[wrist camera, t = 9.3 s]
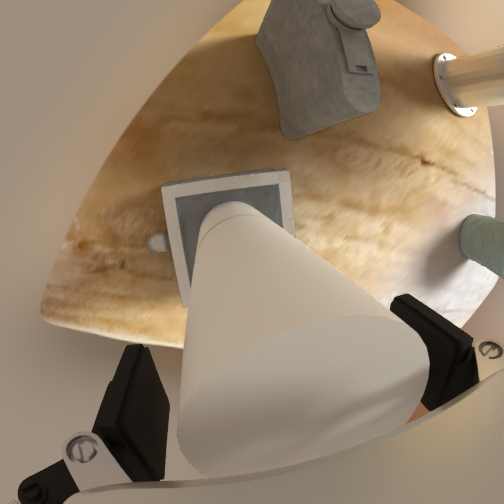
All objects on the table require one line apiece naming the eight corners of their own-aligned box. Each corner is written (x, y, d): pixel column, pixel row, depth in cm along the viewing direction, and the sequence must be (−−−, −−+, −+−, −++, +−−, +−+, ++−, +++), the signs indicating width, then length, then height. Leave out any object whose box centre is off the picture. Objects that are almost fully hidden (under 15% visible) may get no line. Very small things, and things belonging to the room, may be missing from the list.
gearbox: (274, 169, 34) (292, 167, 27) (284, 269, 37) (301, 290, 30) (144, 187, 32) (128, 190, 25) (163, 287, 35) (154, 313, 28)
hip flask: (252, 34, 28) (293, -66, 9) (281, 31, 29) (341, -59, 10) (283, 141, 33) (369, 107, 14) (313, 136, 33) (416, 106, 14)
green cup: (488, 235, 43) (530, 249, 31) (465, 271, 44) (508, 292, 32) (473, 199, 40) (521, 210, 28) (449, 238, 41) (499, 256, 29)
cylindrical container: (197, 264, 30) (184, 492, 6) (202, 197, 28) (171, 309, 5) (261, 268, 31) (375, 467, 8) (270, 204, 30) (462, 308, 6)
